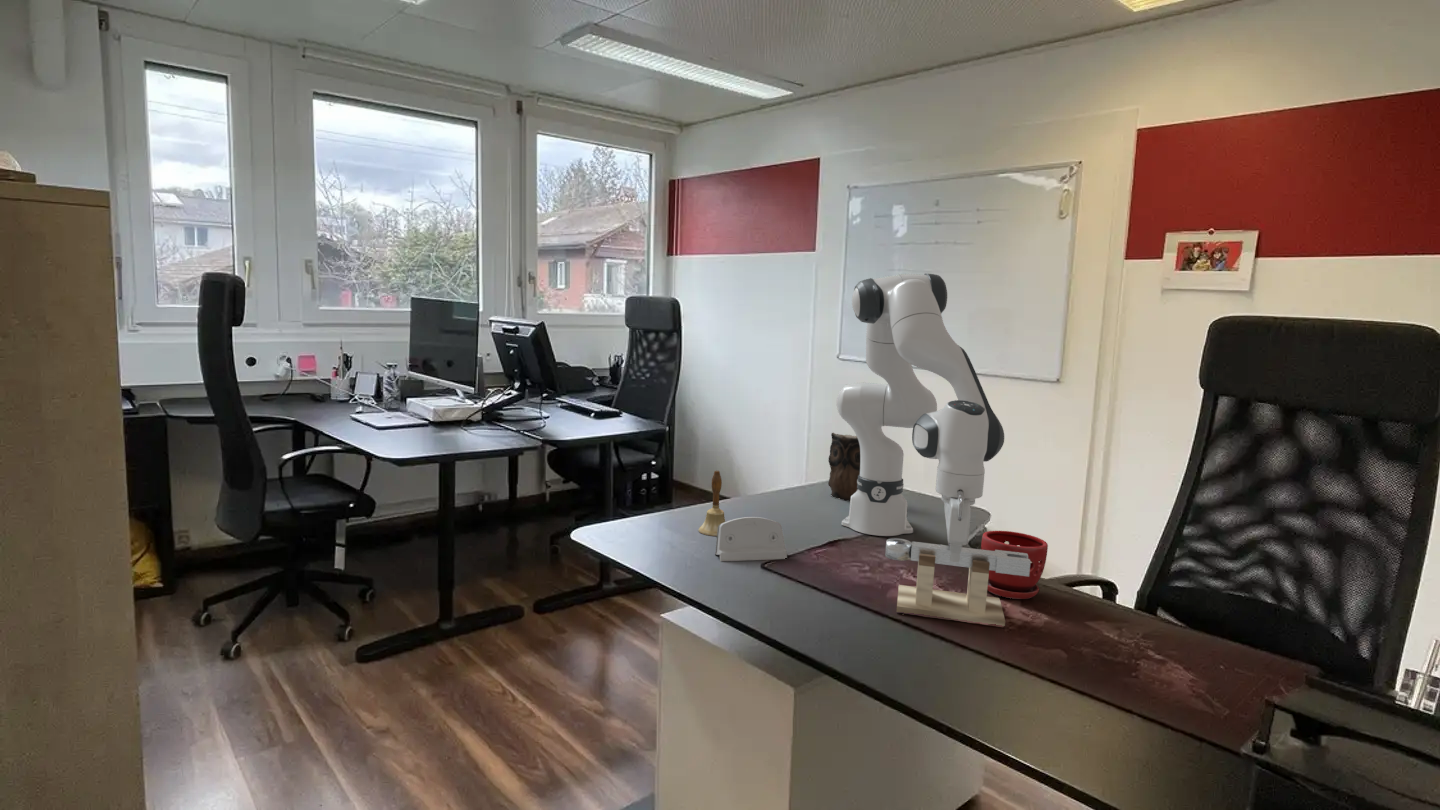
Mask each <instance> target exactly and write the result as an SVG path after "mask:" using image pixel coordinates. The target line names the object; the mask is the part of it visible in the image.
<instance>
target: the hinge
mask: <svg viewBox="0 0 1440 810" xmlns="http://www.w3.org/2000/svg"><path fill="white" fill-rule="evenodd" d="M784 539H785V538H784V533H783V527H782V524H781V523H780V522H778V521H775V520H772V519H770V518H765V517H759V516H746V517H744V516H743V517H737V518H733V519H729V520H727V521H726V520H725V522H724V523H721V524H720V525H719V526H718V530H717V536H716V541H715V553H714V554H715V556H716V555H717V556H719V561H720V562H735V561H737V562H738V561H739V562H740V561H742V562H743V561H760V560H761V561H762V560H763V561H766V560H767V561H769V560H786V559H785V558H787V559H788V552H787V548H786V543H785V540H784Z"/></svg>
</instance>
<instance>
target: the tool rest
mask: <svg viewBox="0 0 1440 810" xmlns="http://www.w3.org/2000/svg"><path fill="white" fill-rule="evenodd" d="M935 565H936V563H935V555H929V554H919V561H917V572H916V574H917V575H916V584H915V585H916V586H909V585H903V584H898V591H897V601H896V612H904V613H914V614H924V615H930V616H937V617H944V618H951V619H958V620H967V621H973V622H982V623H988V624H996V625H1002V626H1006V618H1005V615H1004V611H1003V606H1002V603H1001V600H1000V599H1001V598H1000V597H994V596H987V595H988V590H987V587H988V577H989V566H990V563H989V562H987V561H979V560H973V563H972V568H968V579H967V588H966V589H967V590H966V593H965V592H955V591H949V590H948V591H947V590H941V589H934V580H935V579H934V578H935V568H936V566H935Z"/></svg>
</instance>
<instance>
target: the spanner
mask: <svg viewBox="0 0 1440 810" xmlns="http://www.w3.org/2000/svg"><path fill="white" fill-rule="evenodd" d="M885 542H886V543H885V553H884V555H885V558H888V559H890V560H893V561H902V562H903V561H913V562H918V561H919V554H929V555H935V565H937V564H938V565H944V566H945V565H946V566H954V567H960V568H961V567H963V568H968V569H969V568H972V563H973V560H979V561H987V562H989V563H990V566H989V570H993V571H996V573H1004V574H1012V575H1020V576H1028V577H1029V572H1030V563H1031V561H1030V559H1028V554H1027V553H1019V552H1011V551H1002V550H995V551H990V550H981V548H972V547H963V546H962V549H961V553H960V561H959V562H952V561H950V546H949V545H945V544H936V543H929V542H921V541H910V540H908V539H904V538H897V537H896V538H895V537H892V538H888V539H886V541H885Z"/></svg>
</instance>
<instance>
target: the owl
mask: <svg viewBox="0 0 1440 810" xmlns="http://www.w3.org/2000/svg"><path fill="white" fill-rule="evenodd" d="M828 464H829V467H830V471H829V479H828V487H830V490H831V494H830V495H832V496H833V497H836V498H840V499H839V500H843V499H844V500H843V501H847V500H850V499H851V496H852V495H853V494H854V493H855V492H856V491H857V490H858V488H857V479H858V475H859V474H860V445H859V441H858V438H857V436H856V435H851V434H839V433H835V432H831V444H830V447H829V456H828ZM832 496H831V497H832ZM833 497H832V498H833ZM836 498H835V499H836Z"/></svg>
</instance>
